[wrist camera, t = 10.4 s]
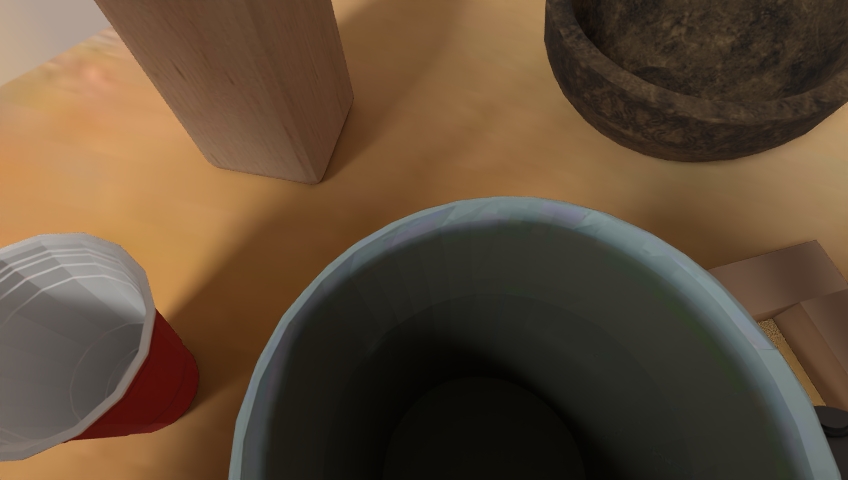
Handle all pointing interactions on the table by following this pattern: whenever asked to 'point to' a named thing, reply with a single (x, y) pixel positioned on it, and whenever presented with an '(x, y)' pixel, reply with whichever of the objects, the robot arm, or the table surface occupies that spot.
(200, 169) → the table surface
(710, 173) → the table surface
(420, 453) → the grey-green cup
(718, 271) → the well board
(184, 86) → the wooden block
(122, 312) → the plastic cup
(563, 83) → the bowl
